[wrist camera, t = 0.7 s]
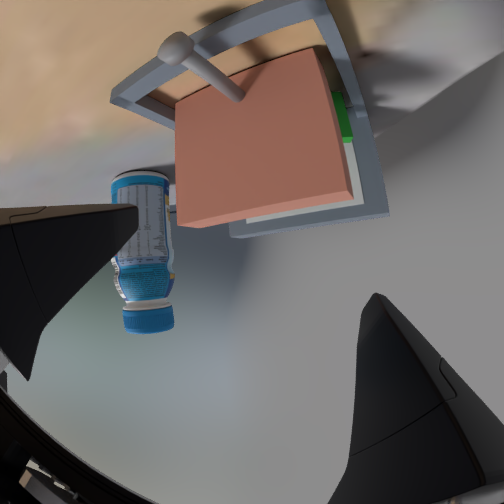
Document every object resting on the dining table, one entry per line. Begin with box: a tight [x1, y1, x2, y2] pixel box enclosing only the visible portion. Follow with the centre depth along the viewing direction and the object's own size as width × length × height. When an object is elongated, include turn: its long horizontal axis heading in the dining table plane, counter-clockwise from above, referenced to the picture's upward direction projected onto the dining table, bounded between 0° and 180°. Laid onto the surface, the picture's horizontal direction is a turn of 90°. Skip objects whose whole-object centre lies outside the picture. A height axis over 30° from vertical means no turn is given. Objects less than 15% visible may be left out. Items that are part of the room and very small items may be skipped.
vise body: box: [110, 0, 390, 238], centre depth 19 cm, size 17×15×10 cm
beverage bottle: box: [111, 171, 175, 334], centre depth 35 cm, size 8×8×20 cm
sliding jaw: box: [157, 32, 354, 228], centre depth 14 cm, size 9×11×10 cm
